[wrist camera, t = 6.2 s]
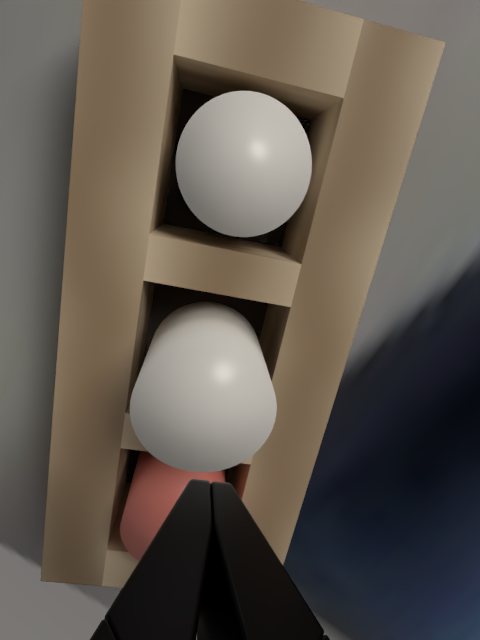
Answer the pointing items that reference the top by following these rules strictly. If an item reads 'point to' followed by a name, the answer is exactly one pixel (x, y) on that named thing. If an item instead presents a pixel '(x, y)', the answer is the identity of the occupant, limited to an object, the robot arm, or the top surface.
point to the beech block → (217, 239)
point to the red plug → (154, 499)
